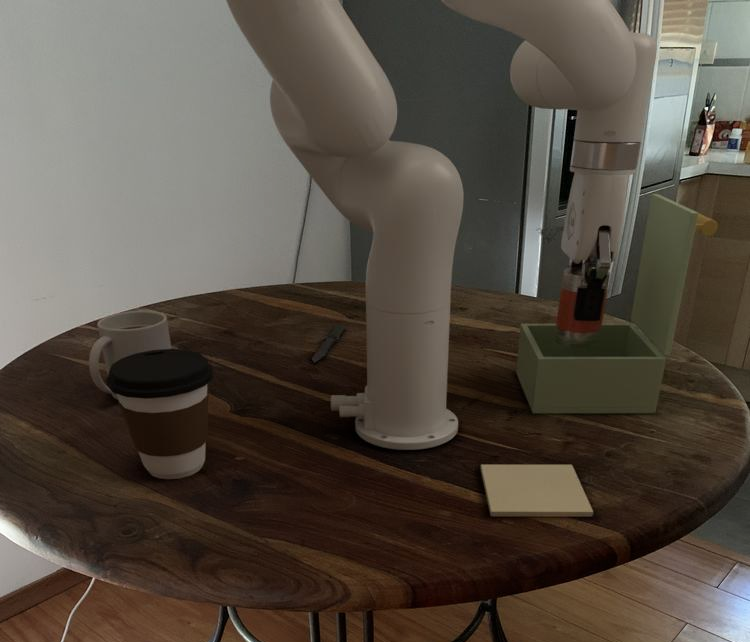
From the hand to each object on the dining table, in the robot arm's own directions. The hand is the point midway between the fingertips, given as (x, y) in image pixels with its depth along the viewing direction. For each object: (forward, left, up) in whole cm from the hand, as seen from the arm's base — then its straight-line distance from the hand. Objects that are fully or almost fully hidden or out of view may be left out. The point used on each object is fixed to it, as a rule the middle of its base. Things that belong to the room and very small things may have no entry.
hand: (580, 311), depth 94 cm
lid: (+9, 0, +5) cm, 10 cm away
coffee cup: (-48, -22, -11) cm, 54 cm away
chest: (+2, 0, -11) cm, 11 cm away
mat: (-9, -27, -11) cm, 31 cm away
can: (0, 0, -4) cm, 4 cm away
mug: (-59, 0, -11) cm, 60 cm away
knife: (-34, +20, -11) cm, 41 cm away
